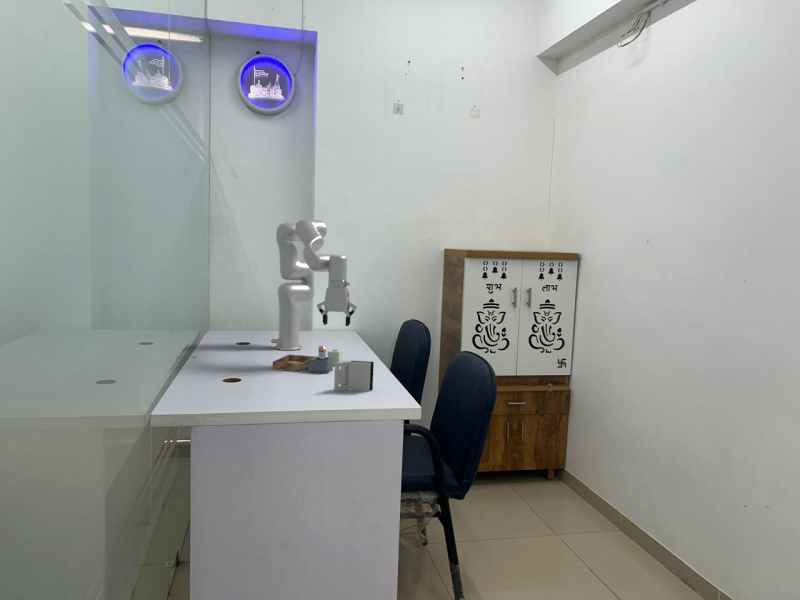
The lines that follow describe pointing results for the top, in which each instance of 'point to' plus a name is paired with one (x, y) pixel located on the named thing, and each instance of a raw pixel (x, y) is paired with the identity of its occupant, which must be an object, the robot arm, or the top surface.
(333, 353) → the pale green block
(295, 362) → the tray
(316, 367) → the block
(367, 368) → the hinge
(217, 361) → the top surface
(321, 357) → the cylinder
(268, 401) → the top surface
